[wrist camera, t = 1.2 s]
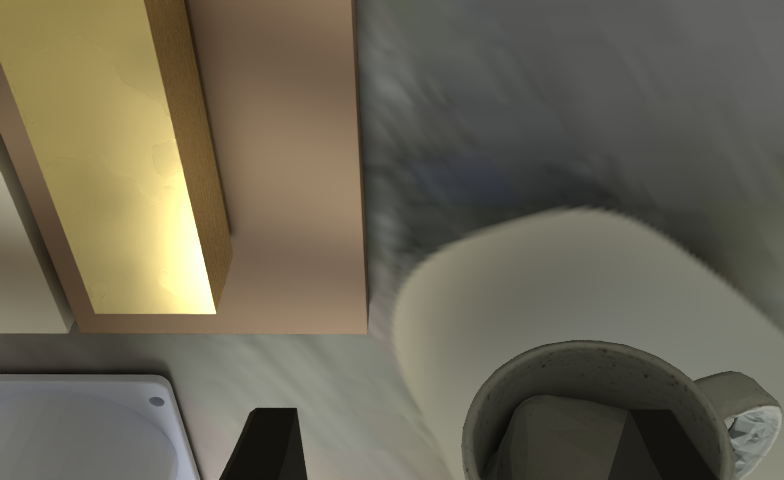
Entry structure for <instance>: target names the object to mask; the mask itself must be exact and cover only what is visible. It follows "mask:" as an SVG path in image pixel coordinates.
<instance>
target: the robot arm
mask: <svg viewBox="0 0 784 480" xmlns="http://www.w3.org/2000/svg"><path fill="white" fill-rule="evenodd" d="M0 480H200V477H199V474H198V470H197V467H196V464H195V461H194V458H193V454H192V451H191V448H190V445H189V442H188V438H187V435H186V432H185V429H184V425H183V422H182V419H181V416H180V413H179V409H178V406H177V403H176V400H175V397H174V393H173V390H172V387H171V384H170V382H169V381H168V380H167V379H166V378H164V377H162V376H160V375H105V374H0ZM219 480H307V473H306V467H305V460H304V453H303V447H302V440H301V433H300V427H299V420H298V414H297V408H255V409H254V410H253V411H251V412H250V414H249V416H248V418H247V421H246V423H245V426H244V428H243V431H242V433H241V435H240V437H239V439H238V442H237V444H236V446H235V448H234V450H233V453H232V455H231V457H230V459H229V461H228V463H227V465H226V467H225V469H224V471H223V473H222V475H221V477H220V479H219ZM608 480H720V479H719V478H718V476H717V475H716V473H715V472H714V471H713V469H712V468H711V466H710V465H709V463H708V462H707V461H706V459H705V458H704V456H703V455H702V453H701V452H700V450H699V449H698V447H697V446H696V444H695V443H694V441H693V440H692V438H691V437H690V435H689V434H688V432H687V431H686V429H685V428H684V426H683V425H682V423H681V422H680V420H679V419H678V417H677V416H676V414H674V413H673V412H672V411H671V410H670V409H629V410H628V413H627V417H626V420H625V424H624V427H623V430H622V434H621V437H620V440H619V444H618V447H617V450H616V454H615V457H614V460H613V464H612V467H611V470H610V474H609V477H608Z"/></svg>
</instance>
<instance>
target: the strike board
mask: <svg viewBox="0 0 784 480" xmlns="http://www.w3.org/2000/svg"><path fill="white" fill-rule="evenodd" d="M184 4H185V9H186V14H187V19H188V24H189V29H190V34H191V40H192V45H193V50H194V55H195V60H196V65H197V70H198V75H199V80H200V86H201V91H202V96H203V101H204V106H205V111H206V116H207V121H208V126H209V132H210V137H211V142H212V147H213V152H214V157H215V162H216V167H217V172H218V178H219V183H220V188H221V193H222V198H223V203H224V208H225V213H226V218H227V224H228V229H229V234H230V239H231V244H232V249H233V257H232V261H231V264H230V268H229V271H228V275H227V278H226V281H225V285H224V288H223V292H222V295H221V299H220V302H219V305H218V309H217V312H216V314H95V312H94V309H93V307H92V304H91V301H90V299H89V296H88V293H87V291H86V288H85V285H84V283H83V280H82V277H81V275H80V272H79V269H78V267H77V264H76V261H75V259H74V256H73V253H72V251H71V248H70V245H69V243H68V240H67V237H66V235H65V232H64V229H63V227H62V224H61V221H60V219H59V216H58V213H57V211H56V208H55V205H54V203H53V200H52V197H51V195H50V192H49V189H48V187H47V184H46V181H45V179H44V176H43V174H42V171H41V168H40V166H39V163H38V160H37V158H36V155H35V152H34V150H33V147H32V144H31V142H30V139H29V136H28V134H27V131H26V128H25V126H24V123H23V120H22V118H21V115H20V112H19V110H18V107H17V104H16V102H15V99H14V96H13V94H12V91H11V88H10V86H9V83H8V80H7V78H6V75H5V72H4V70H3V67H2V64H1V62H0V333H69V331H70V329H71V327H72V325H73V323H74V321H75V319H76V322H77V324H78V327H79V329H80V332H81V334H368V320H369V290H368V268H367V247H366V225H365V203H364V182H363V160H362V138H361V117H360V95H359V73H358V52H357V30H356V8H355V0H184Z"/></svg>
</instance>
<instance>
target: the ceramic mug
mask: <svg viewBox="0 0 784 480" xmlns="http://www.w3.org/2000/svg"><path fill="white" fill-rule="evenodd" d="M629 409H670V410H671V411H672V412H673V413H674V414H676V416H677V417H678V419H679V420H680V422H681V423H682V425H683V426H684V428H685V429H686V431H687V432H688V434H689V435H690V437H691V438H692V440H693V441H694V443H695V444H696V446H697V447H698V449H699V450H700V452H701V453H702V455H703V456H704V458H705V459H706V461H707V462H708V463H709V465H710V466H711V468H712V469H713V471H714V472H715V473H716V475H717V476H718V478H719V479H720V480H743V479H744V478H745V477H746V476H747V475H748V474H750V473H751V472H752V470H753V469H754V468H755V467H756V466H757V465H758V464H759V463H760V462H761V460H762V459H763V458H764V457H765V455H766V454H767V453H768V451H769V450H770V449H771V447H772V445H773V443H774V441H775V440H776V438H777V435H778V433H779V431H780V429H781V426H782V423H783V410H782V408H781V406H780V405H779V403H778V401H777V400H775V399H774V398H773V397H772V396H771V395H770V394H769V393H767V392H766V391H765V390H764V389H763V388H762V387H761V386H759V384H758V383H757V382H756V381H755V380H754V379H752V378H750V377H748V376H746V375H744V374H742V373H740V372H733V371H728V372H722V373H718V374H714V375H711V376H707V377H704V378H700V379H698V380H695V381H692V380H691V379H690V378H689V377H687V376H686V375H685V374H684V373H682V372H681V371H680V370H679V369H677V368H675V367H674V366H672V365H671V364H669V363H667V362H666V361H664V360H662V359H661V358H659V357H657V356H654V355H652V354H650V353H647V352H644V351H642V350H638V349H636V348H632V347H630V346H627V345H624V344H617V343H609V342H604V341H592V340H572V341H566V342H558V343H552V344H546V345H542V346H539V347H536V348H534V349H531V350H528V351H526V352H524V353H522V354H520V355H518V356H516V357H514V358H513V359H511V360H510V361H508V362H507V363H505V364H504V365H502V366H501V367H500V368H498V369H497V370H496V371H495V372H494V373H493V374H492V375H491V376H490V377H489V378H488V380H487V381H486V382H485V383H484V384H483V385H482V386H481V388H480V389H479V391H478V392H477V394H476V395H475V397H474V399H473V401H472V404H471V406H470V408H469V410H468V414H467V417H466V420H465V423H464V427H463V435H462V446H461V447H462V460H463V469H464V474H465V480H608V477H609V474H610V470H611V467H612V464H613V460H614V457H615V454H616V450H617V447H618V444H619V440H620V437H621V434H622V430H623V427H624V424H625V420H626V417H627V413H628V410H629ZM730 418H735V419H734V422H733V424H732V425H731V427H730V428H729V429H728V430H727V427H726V424H725V421H726V420H728V419H730Z"/></svg>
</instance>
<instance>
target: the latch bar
mask: <svg viewBox="0 0 784 480" xmlns="http://www.w3.org/2000/svg"><path fill="white" fill-rule="evenodd" d="M0 62H1V64H2V67H3V70H4V72H5V75H6V78H7V80H8V83H9V86H10V88H11V91H12V94H13V96H14V99H15V102H16V104H17V107H18V110H19V112H20V115H21V118H22V120H23V123H24V126H25V128H26V131H27V134H28V136H29V139H30V142H31V144H32V147H33V150H34V152H35V155H36V158H37V160H38V163H39V166H40V168H41V171H42V174H43V176H44V179H45V181H46V184H47V187H48V189H49V192H50V195H51V197H52V200H53V203H54V205H55V208H56V211H57V213H58V216H59V219H60V221H61V224H62V227H63V229H64V232H65V235H66V237H67V240H68V243H69V245H70V248H71V251H72V253H73V256H74V259H75V261H76V264H77V267H78V269H79V272H80V275H81V277H82V280H83V283H84V285H85V288H86V291H87V293H88V296H89V299H90V301H91V304H92V307H93V309H94V312H95V314H216V312H217V309H218V305H219V302H220V299H221V295H222V292H223V288H224V285H225V281H226V278H227V275H228V271H229V268H230V264H231V261H232V257H233V249H232V244H231V239H230V234H229V229H228V224H227V218H226V213H225V208H224V203H223V198H222V193H221V188H220V183H219V178H218V172H217V167H216V162H215V157H214V152H213V147H212V142H211V137H210V132H209V126H208V121H207V116H206V111H205V106H204V101H203V96H202V91H201V86H200V80H199V75H198V70H197V65H196V60H195V55H194V50H193V45H192V40H191V34H190V29H189V24H188V19H187V14H186V9H185V4H184V0H0Z"/></svg>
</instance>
